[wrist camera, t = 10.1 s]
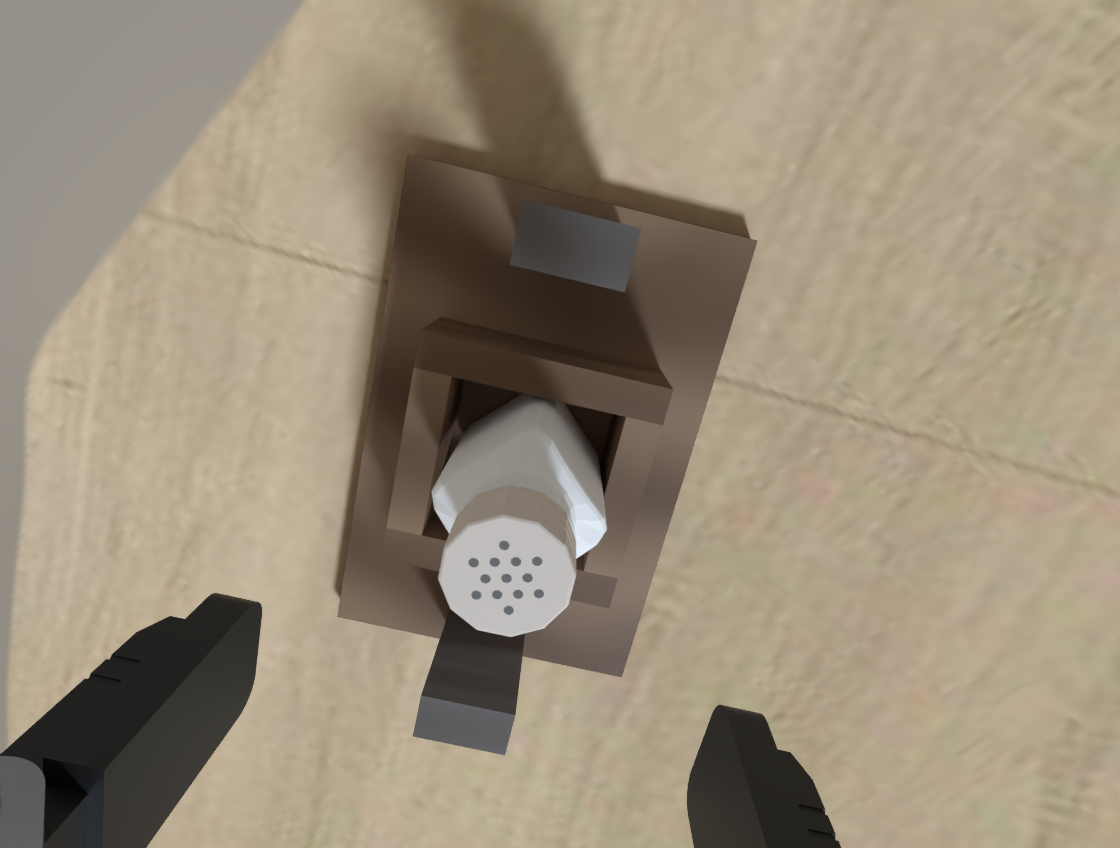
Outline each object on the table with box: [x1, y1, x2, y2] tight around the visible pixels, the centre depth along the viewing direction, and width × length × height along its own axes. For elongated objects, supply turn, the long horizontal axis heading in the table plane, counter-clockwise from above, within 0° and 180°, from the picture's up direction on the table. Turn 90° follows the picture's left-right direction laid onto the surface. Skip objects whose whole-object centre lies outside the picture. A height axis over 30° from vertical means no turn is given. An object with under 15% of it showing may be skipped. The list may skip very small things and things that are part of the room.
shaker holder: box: [337, 154, 757, 755], centre depth 21 cm, size 18×12×7 cm, turn 167°
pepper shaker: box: [431, 393, 607, 637], centre depth 19 cm, size 4×4×10 cm
